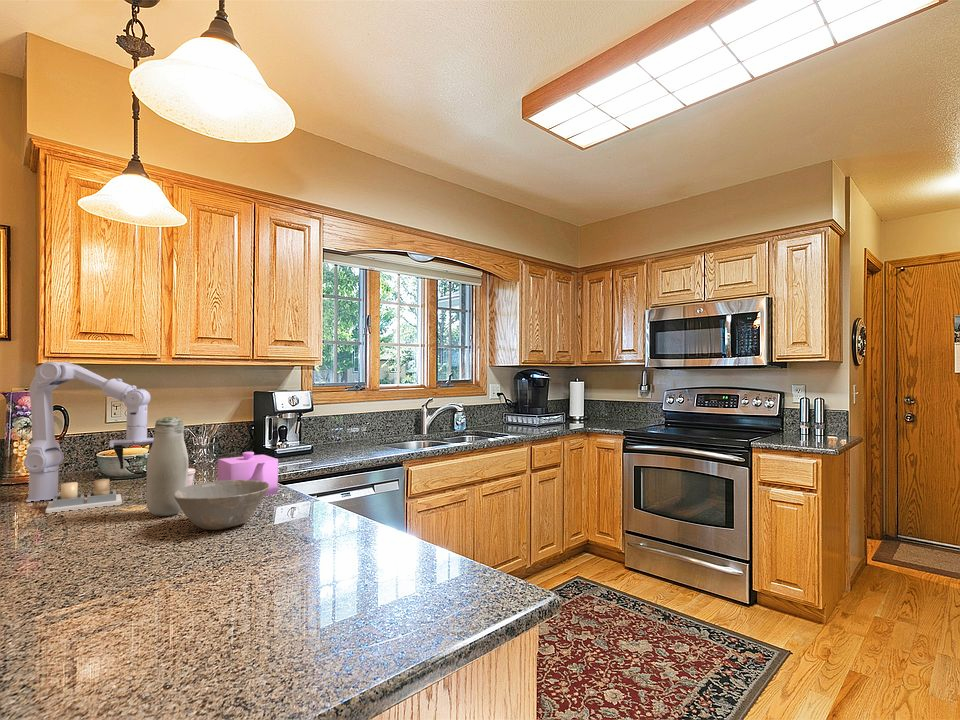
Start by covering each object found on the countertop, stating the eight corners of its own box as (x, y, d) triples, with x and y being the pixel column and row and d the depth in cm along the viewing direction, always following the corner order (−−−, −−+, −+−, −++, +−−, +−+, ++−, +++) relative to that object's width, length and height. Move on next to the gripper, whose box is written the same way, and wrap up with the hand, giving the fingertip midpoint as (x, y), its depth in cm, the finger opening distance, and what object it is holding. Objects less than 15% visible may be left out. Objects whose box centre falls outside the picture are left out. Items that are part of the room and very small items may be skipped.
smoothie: (187, 503, 162) (188, 458, 162) (167, 503, 162) (168, 458, 162) (199, 498, 168) (200, 455, 169) (179, 498, 168) (180, 454, 169)
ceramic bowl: (154, 530, 134) (155, 492, 134) (233, 510, 154) (234, 476, 155) (209, 544, 124) (210, 502, 124) (286, 520, 144) (286, 484, 144)
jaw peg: (94, 499, 162) (94, 479, 162) (109, 497, 164) (109, 478, 164) (93, 502, 159) (93, 482, 159) (109, 500, 161) (109, 480, 161)
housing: (48, 505, 159) (49, 482, 159) (120, 496, 169) (120, 475, 169) (45, 513, 149) (46, 489, 149) (121, 504, 160) (122, 481, 160)
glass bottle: (141, 521, 142) (143, 418, 143) (153, 511, 152) (155, 415, 153) (181, 518, 145) (183, 418, 146) (190, 509, 155) (192, 415, 156)
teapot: (238, 505, 160) (239, 459, 161) (212, 491, 179) (213, 450, 179) (286, 497, 171) (287, 454, 171) (257, 485, 189) (258, 446, 189)
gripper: (110, 428, 164) (109, 471, 164) (163, 425, 173) (162, 466, 172) (109, 426, 170) (108, 468, 169) (161, 423, 178) (160, 463, 178)
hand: (135, 467), depth 171 cm, fingers open, 7 cm apart
